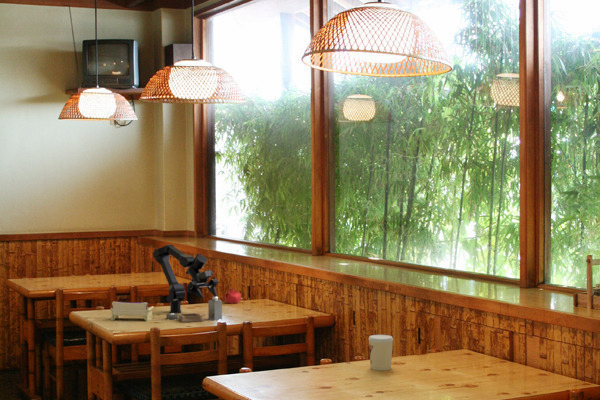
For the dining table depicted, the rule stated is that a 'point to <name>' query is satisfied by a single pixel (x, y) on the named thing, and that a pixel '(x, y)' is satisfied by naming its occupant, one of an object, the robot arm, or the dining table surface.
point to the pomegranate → (232, 297)
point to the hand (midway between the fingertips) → (209, 297)
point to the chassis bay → (190, 317)
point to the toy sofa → (131, 310)
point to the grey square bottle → (215, 308)
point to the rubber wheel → (171, 316)
